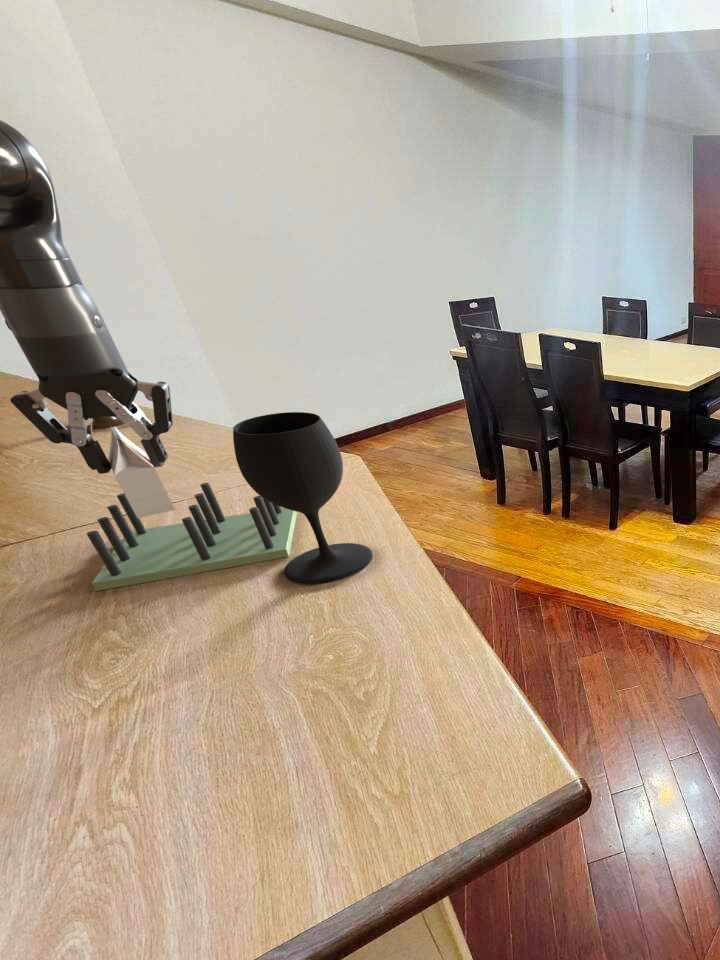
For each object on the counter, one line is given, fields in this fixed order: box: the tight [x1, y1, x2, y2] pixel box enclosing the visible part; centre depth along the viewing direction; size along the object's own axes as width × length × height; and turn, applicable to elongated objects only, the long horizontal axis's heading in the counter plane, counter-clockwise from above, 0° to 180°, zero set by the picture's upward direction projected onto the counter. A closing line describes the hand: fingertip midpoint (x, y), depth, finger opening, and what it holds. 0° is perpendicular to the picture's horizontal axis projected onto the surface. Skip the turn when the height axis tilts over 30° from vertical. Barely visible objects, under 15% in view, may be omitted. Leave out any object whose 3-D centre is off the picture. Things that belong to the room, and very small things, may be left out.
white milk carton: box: [107, 426, 176, 519], centre depth 76 cm, size 4×7×10 cm, turn 47°
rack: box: [86, 482, 298, 592], centre depth 81 cm, size 20×15×7 cm
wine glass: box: [232, 411, 374, 585], centre depth 76 cm, size 10×10×20 cm
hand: (132, 467), depth 75 cm, fingers closed on white milk carton, 4 cm apart
